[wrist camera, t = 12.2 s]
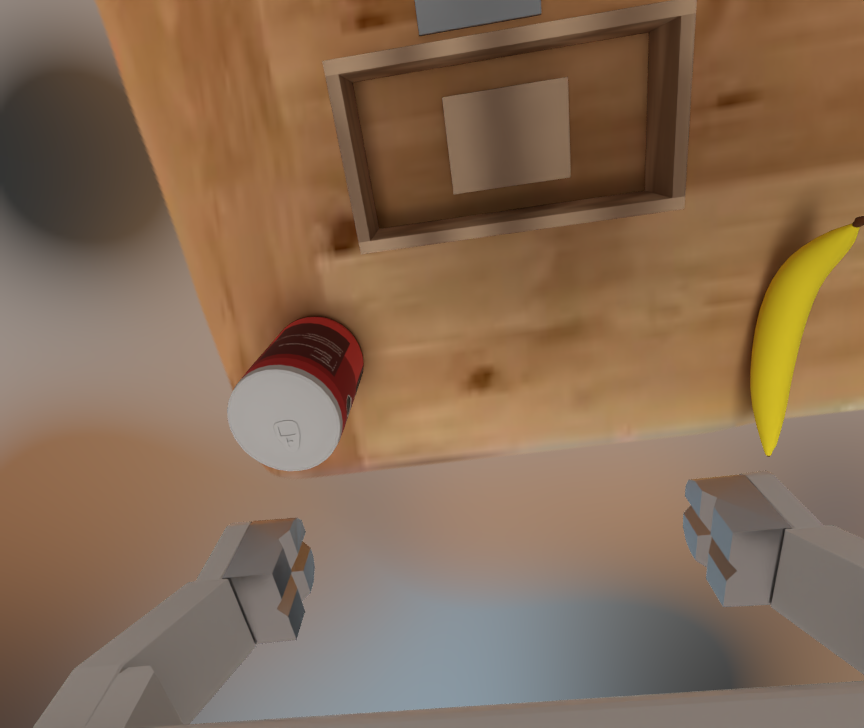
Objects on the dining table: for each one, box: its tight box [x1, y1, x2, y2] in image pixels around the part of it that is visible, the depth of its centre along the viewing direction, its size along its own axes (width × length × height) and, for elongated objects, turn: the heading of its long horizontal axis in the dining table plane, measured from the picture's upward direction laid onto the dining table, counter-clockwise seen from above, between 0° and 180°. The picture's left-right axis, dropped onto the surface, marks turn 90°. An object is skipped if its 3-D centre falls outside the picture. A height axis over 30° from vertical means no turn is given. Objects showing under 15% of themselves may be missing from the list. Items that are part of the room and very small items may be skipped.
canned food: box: [227, 317, 364, 471], centre depth 38 cm, size 8×8×11 cm
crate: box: [322, 0, 697, 254], centre depth 34 cm, size 22×12×5 cm, turn 98°
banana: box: [750, 216, 864, 457], centre depth 38 cm, size 3×19×6 cm, turn 0°
